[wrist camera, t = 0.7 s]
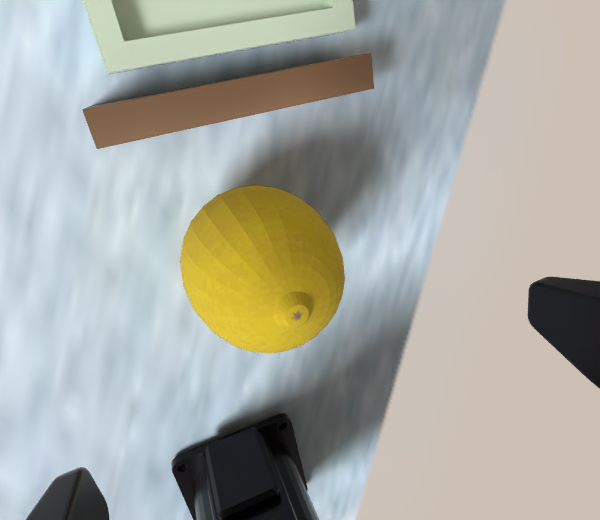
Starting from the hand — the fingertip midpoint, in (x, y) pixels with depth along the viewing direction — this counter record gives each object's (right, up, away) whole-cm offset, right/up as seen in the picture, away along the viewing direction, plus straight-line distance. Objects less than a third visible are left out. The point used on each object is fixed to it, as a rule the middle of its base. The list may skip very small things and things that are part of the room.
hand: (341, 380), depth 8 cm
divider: (-4, +9, +9) cm, 13 cm away
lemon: (-4, +4, +11) cm, 12 cm away
